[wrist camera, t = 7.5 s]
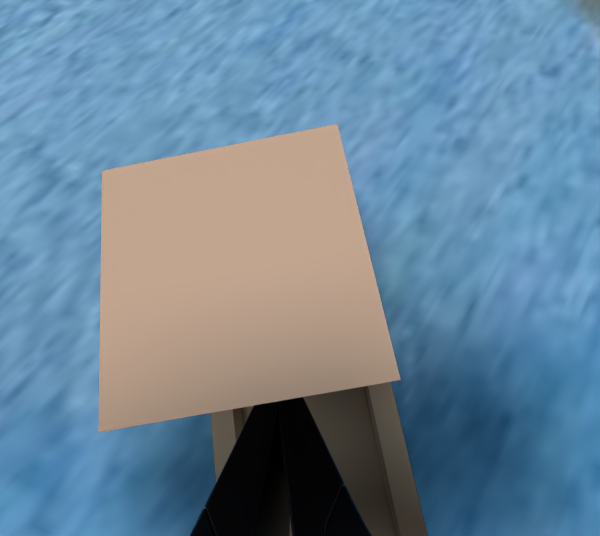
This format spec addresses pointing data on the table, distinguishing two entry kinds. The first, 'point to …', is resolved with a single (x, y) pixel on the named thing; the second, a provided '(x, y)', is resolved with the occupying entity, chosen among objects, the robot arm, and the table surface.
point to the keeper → (235, 281)
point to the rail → (353, 453)
